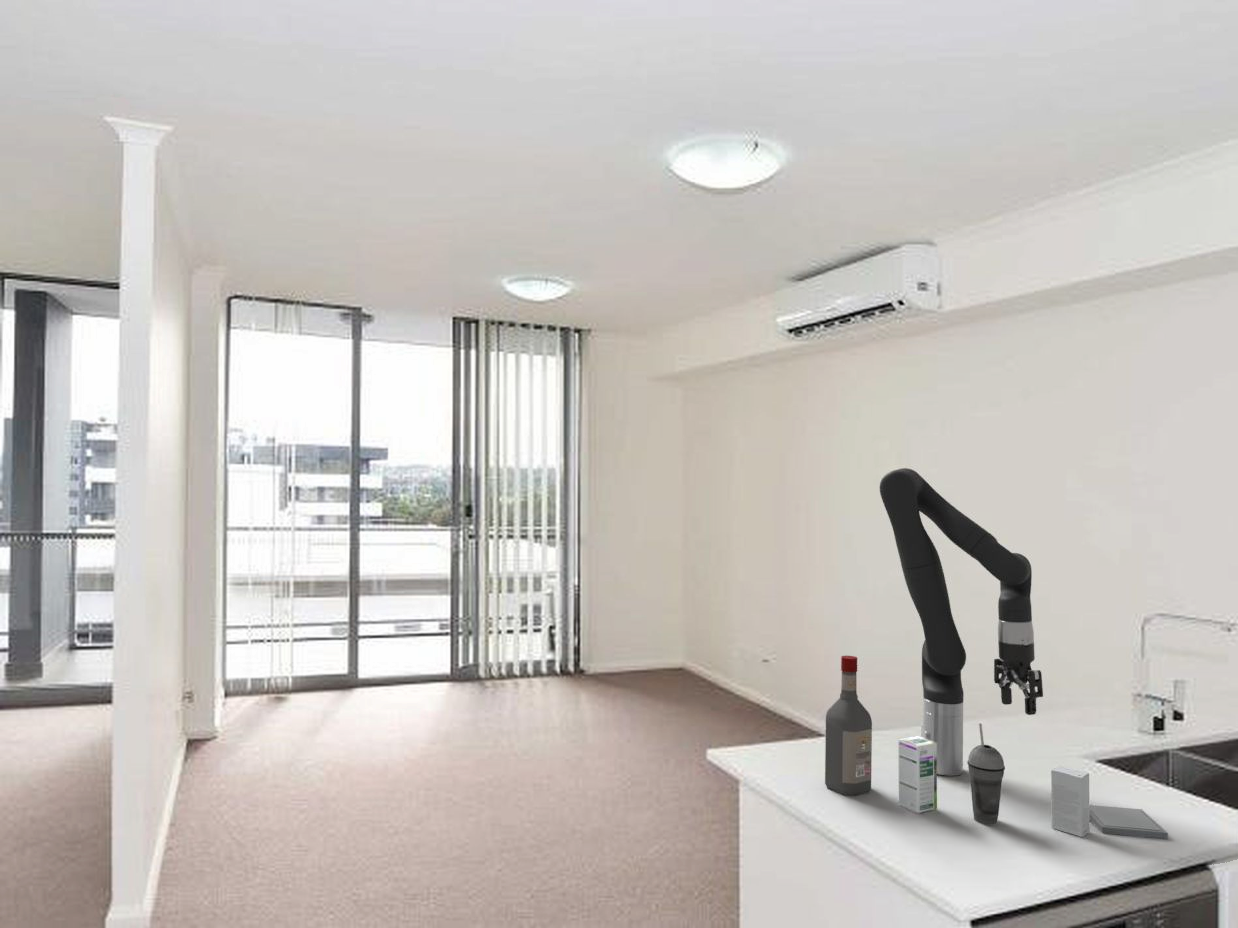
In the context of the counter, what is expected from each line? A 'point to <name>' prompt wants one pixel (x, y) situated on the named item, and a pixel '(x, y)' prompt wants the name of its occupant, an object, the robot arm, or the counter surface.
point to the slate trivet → (1125, 822)
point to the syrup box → (918, 774)
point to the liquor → (848, 738)
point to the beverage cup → (985, 781)
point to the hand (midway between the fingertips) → (1018, 708)
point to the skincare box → (1070, 801)
